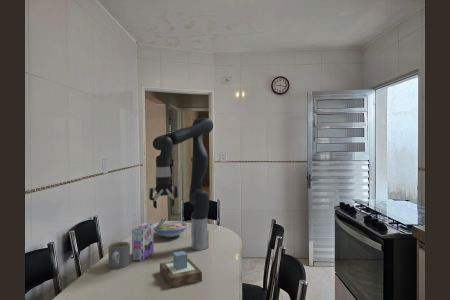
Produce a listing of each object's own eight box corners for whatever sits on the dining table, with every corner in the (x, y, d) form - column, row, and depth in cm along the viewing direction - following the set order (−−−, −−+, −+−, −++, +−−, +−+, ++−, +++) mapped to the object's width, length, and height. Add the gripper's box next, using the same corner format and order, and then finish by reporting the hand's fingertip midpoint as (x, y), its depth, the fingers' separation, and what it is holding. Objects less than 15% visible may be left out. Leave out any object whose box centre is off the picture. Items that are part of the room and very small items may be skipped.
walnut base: (188, 266, 149) (188, 257, 149) (201, 281, 133) (201, 271, 133) (159, 271, 143) (159, 262, 143) (170, 287, 127) (170, 277, 127)
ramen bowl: (184, 242, 188) (184, 228, 188) (147, 242, 188) (147, 228, 188) (190, 230, 213) (189, 219, 213) (157, 230, 213) (157, 219, 213)
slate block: (183, 263, 142) (183, 250, 142) (187, 267, 137) (187, 254, 137) (173, 265, 139) (173, 252, 139) (176, 269, 135) (176, 256, 135)
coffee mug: (115, 260, 158) (115, 241, 158) (133, 261, 156) (133, 242, 156) (100, 271, 144) (100, 249, 144) (120, 272, 143) (120, 250, 143)
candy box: (142, 261, 156) (142, 229, 156) (131, 260, 157) (131, 228, 157) (154, 252, 170) (153, 222, 170) (144, 251, 171) (144, 222, 171)
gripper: (174, 174, 163) (175, 204, 163) (147, 175, 156) (148, 207, 157) (178, 175, 156) (179, 207, 156) (151, 177, 150) (151, 210, 150)
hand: (163, 207), depth 157 cm, fingers open, 8 cm apart
